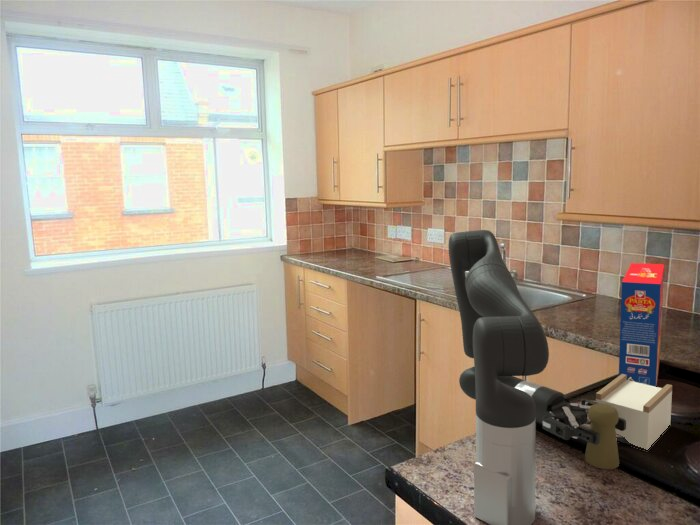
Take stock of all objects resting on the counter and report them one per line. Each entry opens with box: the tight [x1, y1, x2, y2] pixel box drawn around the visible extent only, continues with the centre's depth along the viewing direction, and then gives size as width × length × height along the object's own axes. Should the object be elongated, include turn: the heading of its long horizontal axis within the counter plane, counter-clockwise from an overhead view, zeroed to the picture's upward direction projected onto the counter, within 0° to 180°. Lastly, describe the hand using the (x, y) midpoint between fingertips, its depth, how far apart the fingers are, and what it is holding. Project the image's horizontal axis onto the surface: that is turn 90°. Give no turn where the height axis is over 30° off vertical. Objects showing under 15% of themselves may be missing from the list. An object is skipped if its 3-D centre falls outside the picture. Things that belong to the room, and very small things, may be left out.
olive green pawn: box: [584, 404, 620, 470], centre depth 97 cm, size 6×6×11 cm
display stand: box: [595, 374, 673, 451], centre depth 107 cm, size 14×10×9 cm
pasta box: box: [618, 262, 665, 387], centre depth 134 cm, size 28×8×28 cm, turn 147°
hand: (612, 432), depth 95 cm, fingers open, 8 cm apart
